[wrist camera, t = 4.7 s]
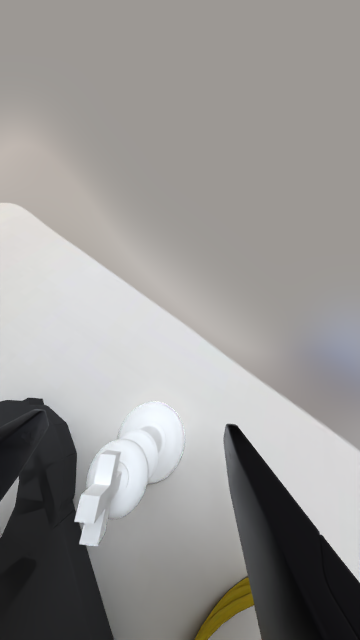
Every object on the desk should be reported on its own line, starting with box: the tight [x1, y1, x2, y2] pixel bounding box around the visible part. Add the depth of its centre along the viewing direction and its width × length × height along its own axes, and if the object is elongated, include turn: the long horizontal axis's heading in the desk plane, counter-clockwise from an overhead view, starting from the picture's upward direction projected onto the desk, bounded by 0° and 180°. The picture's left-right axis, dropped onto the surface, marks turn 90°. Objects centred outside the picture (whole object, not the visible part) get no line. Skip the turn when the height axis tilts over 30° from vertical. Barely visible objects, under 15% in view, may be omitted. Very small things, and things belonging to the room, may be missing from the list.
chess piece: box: [74, 401, 185, 546], centre depth 8 cm, size 5×5×10 cm
